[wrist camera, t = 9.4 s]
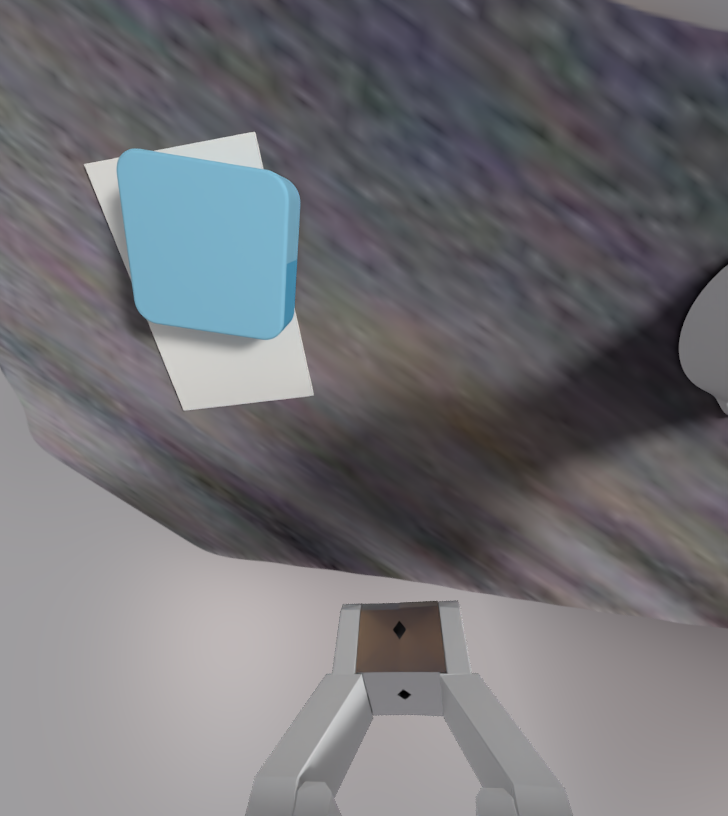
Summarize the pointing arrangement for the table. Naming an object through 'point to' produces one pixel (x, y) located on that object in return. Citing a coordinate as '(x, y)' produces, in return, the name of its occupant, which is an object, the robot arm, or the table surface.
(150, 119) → the table surface
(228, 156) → the mat
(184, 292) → the data package
